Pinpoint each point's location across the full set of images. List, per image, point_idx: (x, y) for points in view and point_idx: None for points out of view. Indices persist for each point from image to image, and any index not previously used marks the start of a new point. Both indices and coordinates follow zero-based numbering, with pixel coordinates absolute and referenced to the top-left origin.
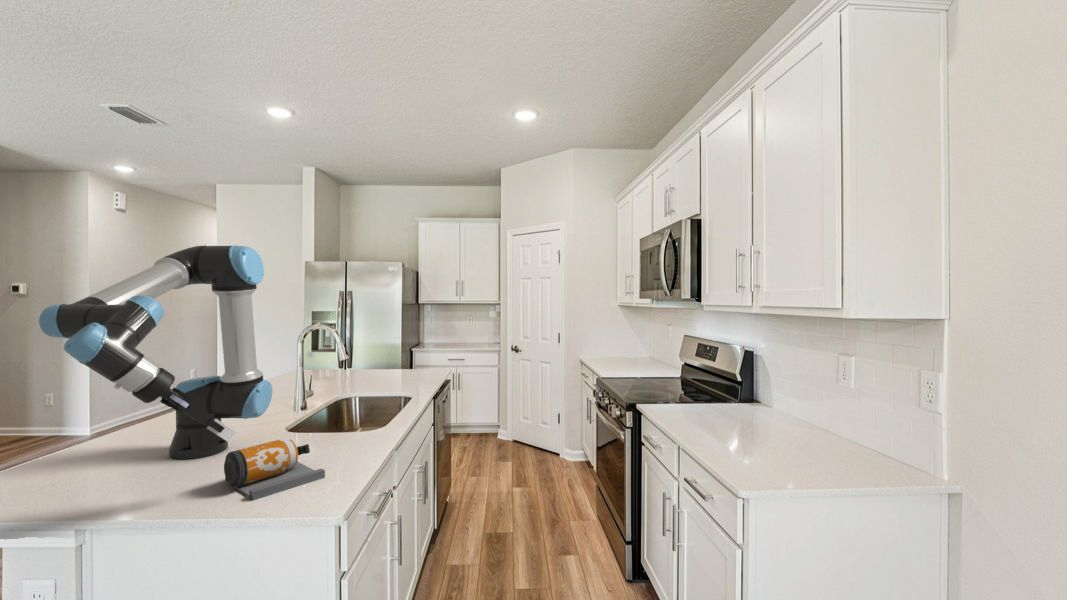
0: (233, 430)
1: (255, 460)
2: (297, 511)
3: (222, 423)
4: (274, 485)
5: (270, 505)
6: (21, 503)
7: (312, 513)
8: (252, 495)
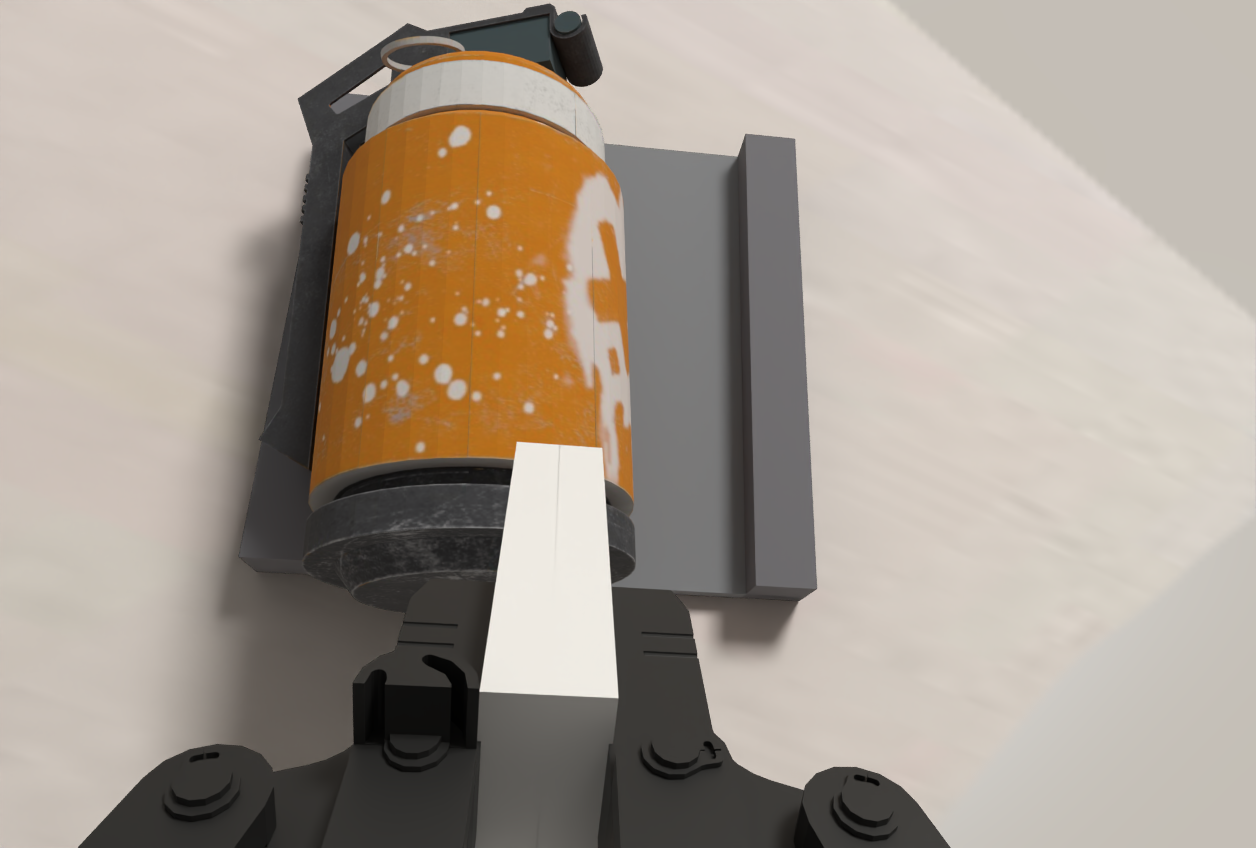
0: (600, 471)
1: (620, 417)
2: (1164, 509)
3: (606, 586)
4: (808, 443)
5: (966, 566)
6: None
7: (1244, 472)
8: (807, 594)
